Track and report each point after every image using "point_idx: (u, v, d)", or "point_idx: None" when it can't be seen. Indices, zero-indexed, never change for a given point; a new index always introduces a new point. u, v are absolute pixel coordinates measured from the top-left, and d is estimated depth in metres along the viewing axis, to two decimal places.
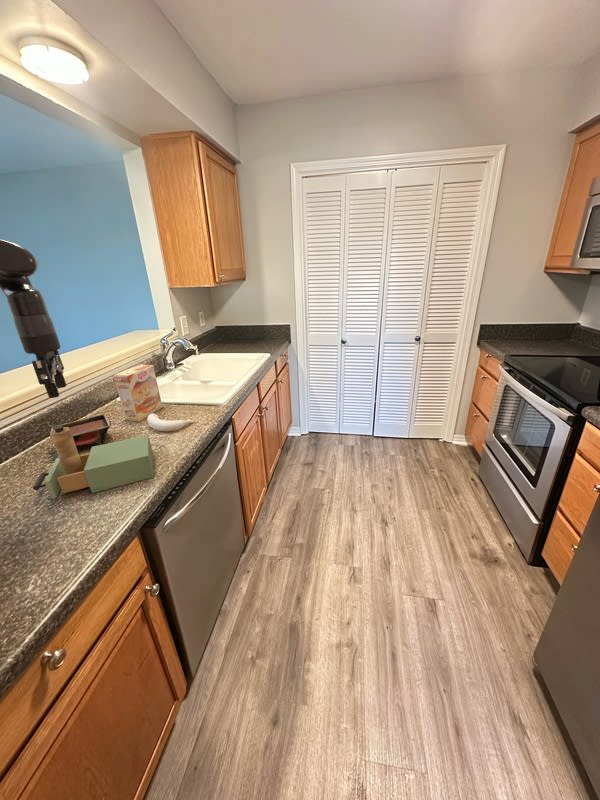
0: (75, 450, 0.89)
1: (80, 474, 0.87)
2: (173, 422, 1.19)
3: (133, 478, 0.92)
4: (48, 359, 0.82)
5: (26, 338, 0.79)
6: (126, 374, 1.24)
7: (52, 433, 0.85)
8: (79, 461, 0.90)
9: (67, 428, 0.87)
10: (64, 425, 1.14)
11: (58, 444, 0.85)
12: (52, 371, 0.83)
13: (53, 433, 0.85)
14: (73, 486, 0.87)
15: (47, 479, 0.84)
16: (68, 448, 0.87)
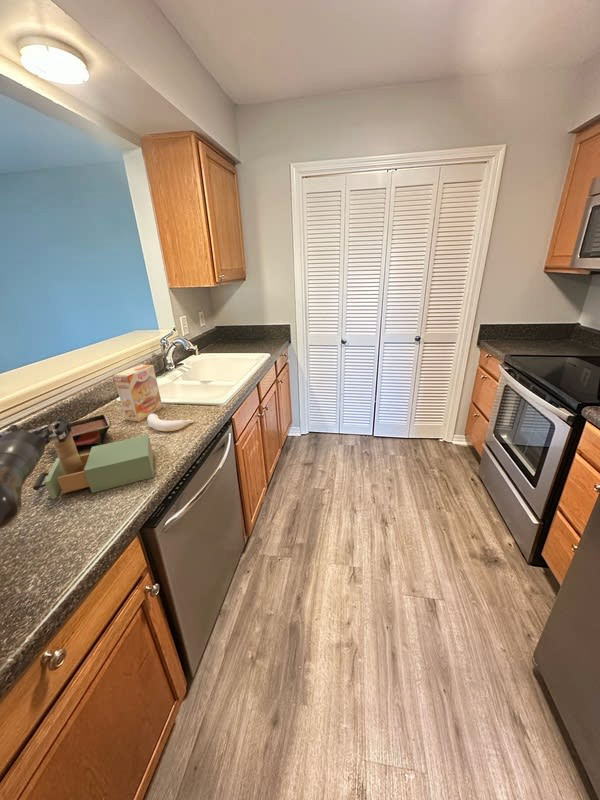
0: (75, 450, 0.89)
1: (80, 474, 0.87)
2: (173, 422, 1.19)
3: (133, 478, 0.92)
4: None
5: None
6: (126, 374, 1.24)
7: None
8: (79, 461, 0.90)
9: None
10: None
11: (58, 444, 0.85)
12: None
13: None
14: (73, 486, 0.87)
15: (47, 479, 0.84)
16: (67, 448, 0.87)
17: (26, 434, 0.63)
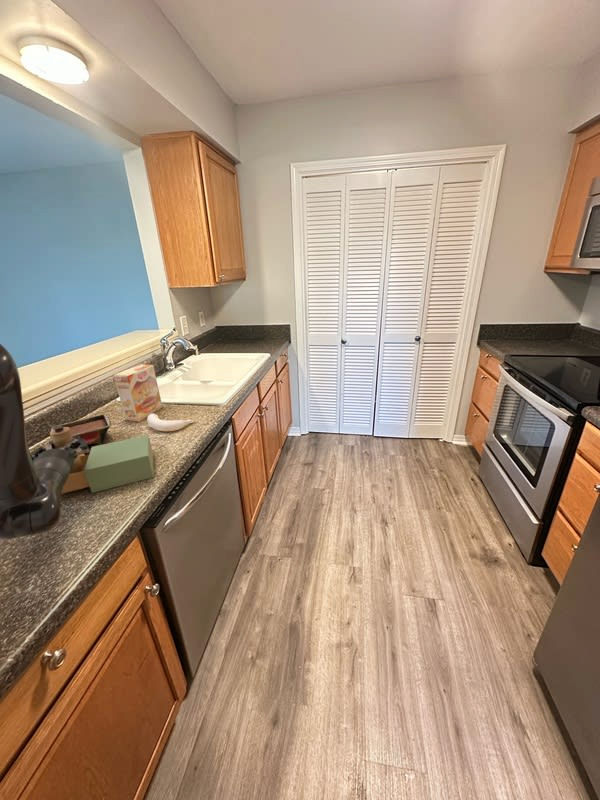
0: None
1: (80, 474, 0.87)
2: (173, 422, 1.19)
3: (133, 478, 0.92)
4: None
5: None
6: (126, 374, 1.24)
7: (52, 433, 0.85)
8: (79, 461, 0.90)
9: (67, 428, 0.87)
10: (64, 425, 1.14)
11: (58, 443, 0.85)
12: None
13: (53, 433, 0.85)
14: (73, 486, 0.87)
15: None
16: None
17: (60, 451, 0.78)
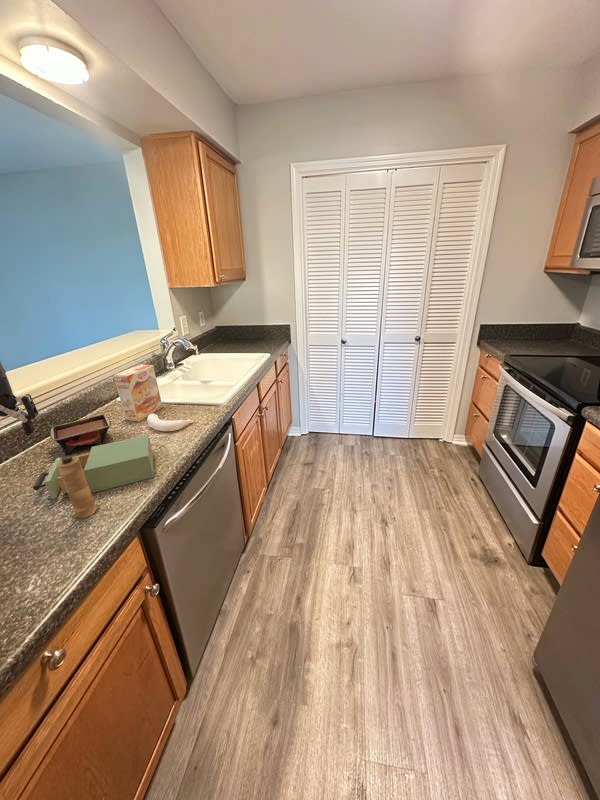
0: (85, 482, 0.78)
1: None
2: (173, 422, 1.19)
3: (133, 478, 0.92)
4: None
5: (0, 379, 0.76)
6: (126, 374, 1.24)
7: (59, 465, 0.74)
8: (89, 494, 0.80)
9: (76, 458, 0.77)
10: (64, 425, 1.14)
11: (66, 477, 0.75)
12: (20, 409, 0.82)
13: (61, 464, 0.74)
14: None
15: (47, 479, 0.84)
16: (77, 481, 0.76)
17: None
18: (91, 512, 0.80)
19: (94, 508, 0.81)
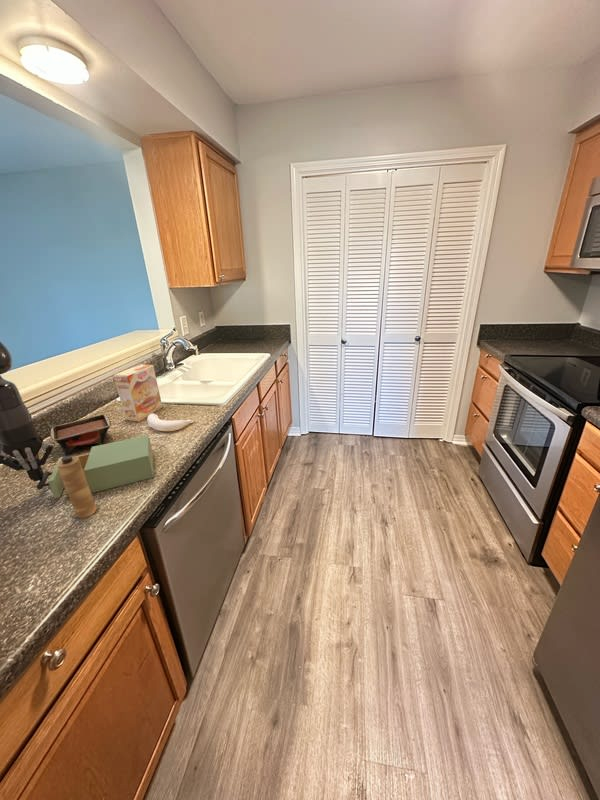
0: (85, 482, 0.78)
1: None
2: (173, 422, 1.19)
3: (133, 478, 0.92)
4: None
5: (28, 424, 0.82)
6: (126, 374, 1.24)
7: (59, 465, 0.74)
8: (89, 494, 0.80)
9: (76, 458, 0.77)
10: (64, 425, 1.14)
11: (66, 477, 0.75)
12: (37, 454, 0.87)
13: (61, 464, 0.74)
14: None
15: (51, 478, 0.84)
16: (77, 481, 0.76)
17: (2, 440, 0.79)
18: (91, 512, 0.80)
19: (94, 508, 0.81)
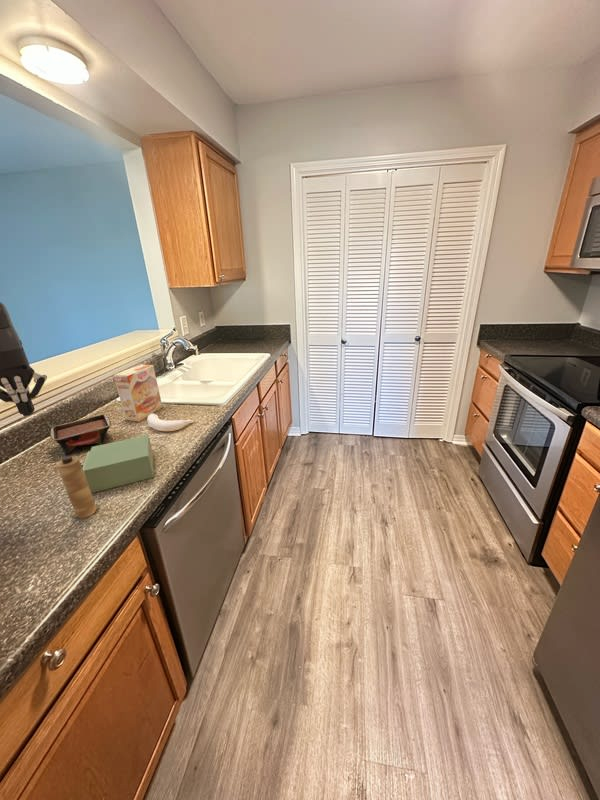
0: (85, 482, 0.78)
1: None
2: (173, 422, 1.19)
3: (133, 478, 0.92)
4: None
5: (18, 350, 0.76)
6: (126, 374, 1.24)
7: (59, 465, 0.74)
8: (89, 494, 0.80)
9: (76, 458, 0.77)
10: (64, 425, 1.14)
11: (66, 477, 0.75)
12: (28, 387, 0.81)
13: (61, 464, 0.74)
14: None
15: None
16: (77, 481, 0.76)
17: None
18: (91, 512, 0.80)
19: (94, 508, 0.81)
